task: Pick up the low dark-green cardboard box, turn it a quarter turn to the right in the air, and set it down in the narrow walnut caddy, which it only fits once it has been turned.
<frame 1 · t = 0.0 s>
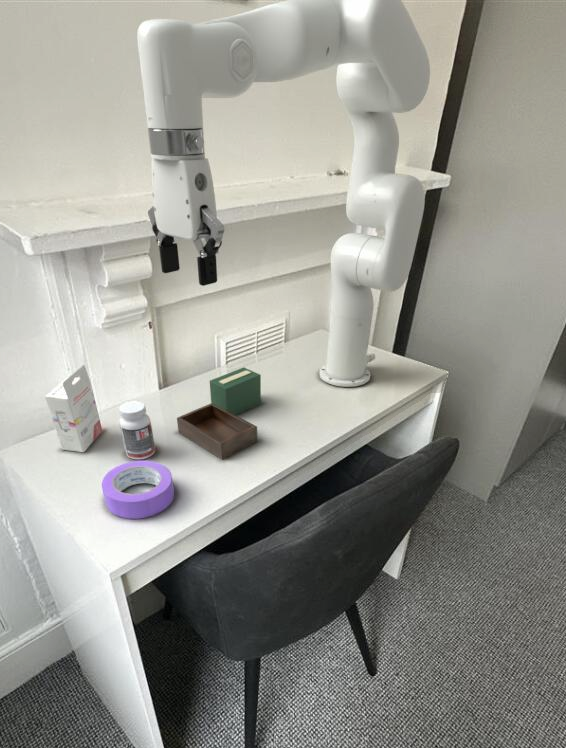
hand: (189, 277, 79), 31 cm above the table, tool pointing down, fingers open, 9 cm apart
green box: (236, 406, 111), on the table
caddy: (217, 437, 101), on the table
pill bottle: (141, 453, 97), on the table
ink cartridge box: (82, 441, 100), on the table
tape roll: (140, 498, 86), on the table
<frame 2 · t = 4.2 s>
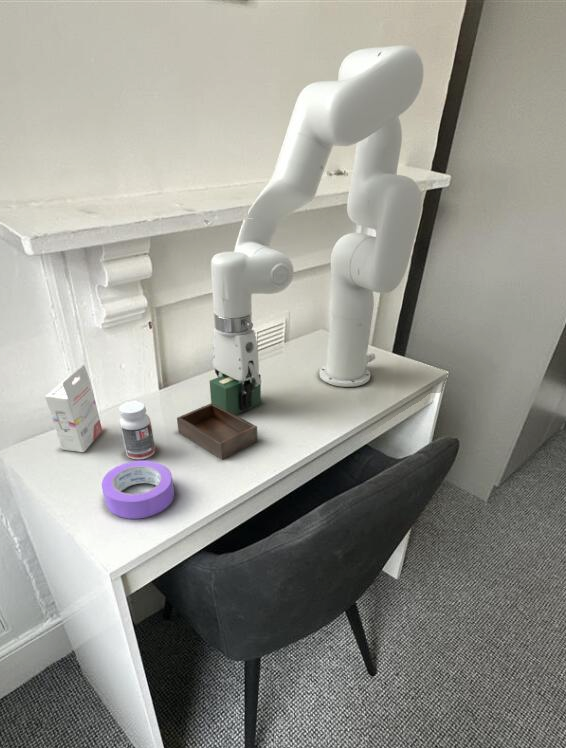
hand: (236, 402, 111), 1 cm above the table, tool pointing down, fingers closed on green box, 5 cm apart
green box: (236, 406, 111), on the table, touching gripper
everything else where it was.
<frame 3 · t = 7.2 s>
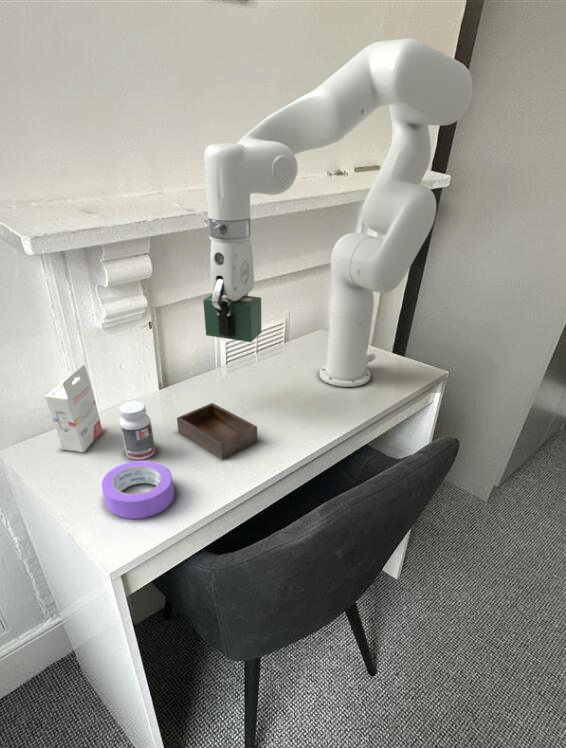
hand: (233, 329, 100), 17 cm above the table, tool pointing down, fingers closed on green box, 5 cm apart
green box: (233, 334, 101), point 16 cm above the table, touching gripper
everything else where it was.
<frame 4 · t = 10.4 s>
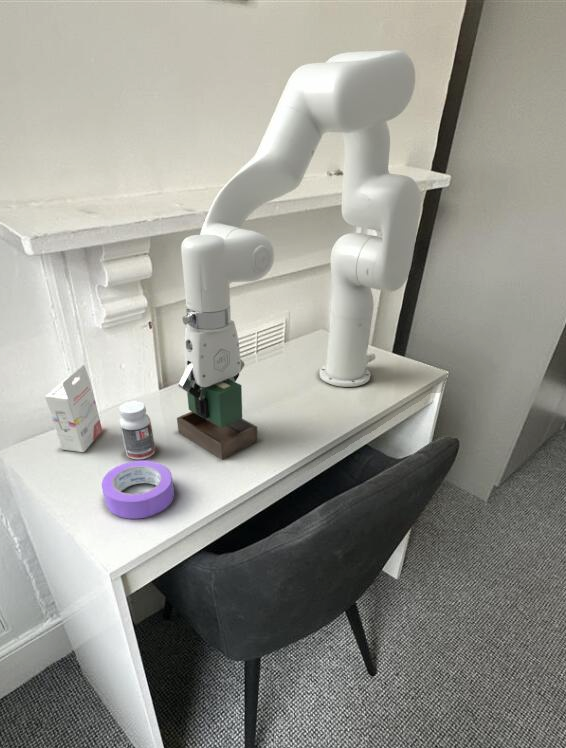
hand: (215, 409, 97), 6 cm above the table, tool pointing down, fingers closed on green box, 5 cm apart
green box: (215, 414, 98), point 5 cm above the table, touching gripper
everything else where it was.
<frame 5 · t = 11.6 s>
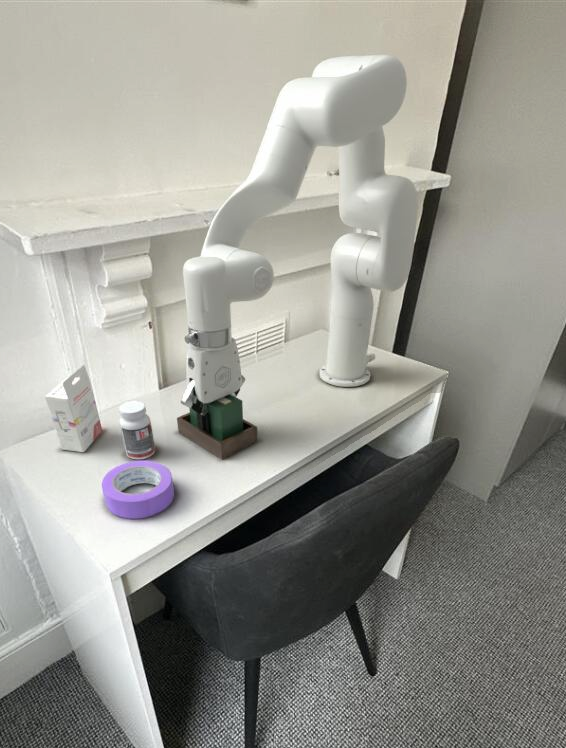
hand: (216, 423, 99), 3 cm above the table, tool pointing down, fingers closed on green box, 5 cm apart
green box: (216, 428, 100), point 2 cm above the table, touching gripper
everything else where it was.
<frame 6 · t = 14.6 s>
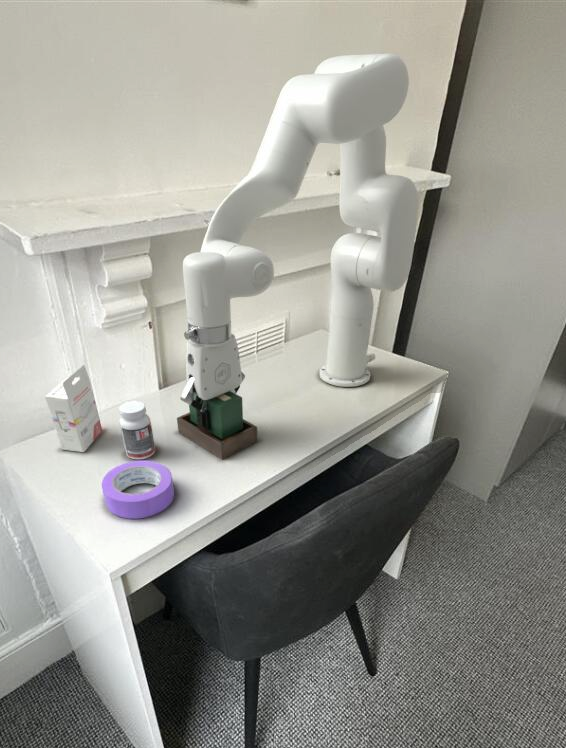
hand: (216, 420, 99), 4 cm above the table, tool pointing down, fingers closed on green box, 5 cm apart
green box: (216, 425, 100), point 3 cm above the table, touching gripper
everything else where it was.
when the fingers open (4 cm above the table, at t = 17.1 s): green box drops 2 cm, resting on caddy.
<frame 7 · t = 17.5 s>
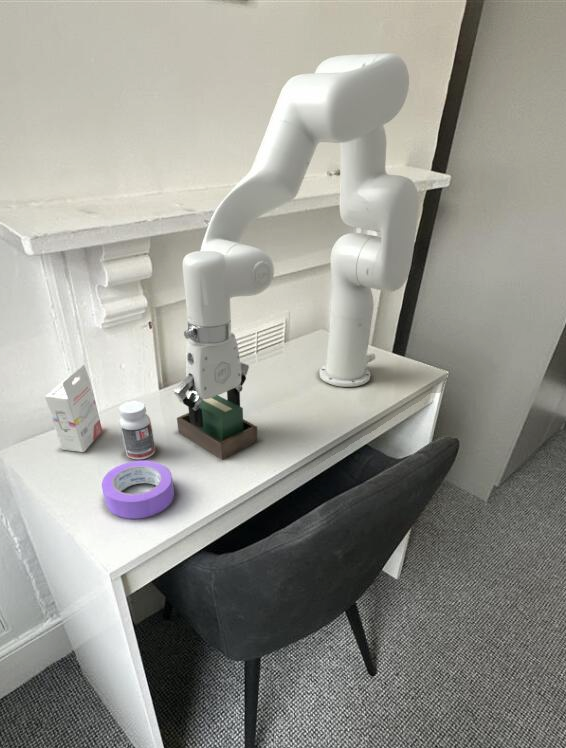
hand: (216, 416, 98), 5 cm above the table, tool pointing down, fingers open, 9 cm apart
green box: (217, 434, 101), resting on caddy
everything else where it was.
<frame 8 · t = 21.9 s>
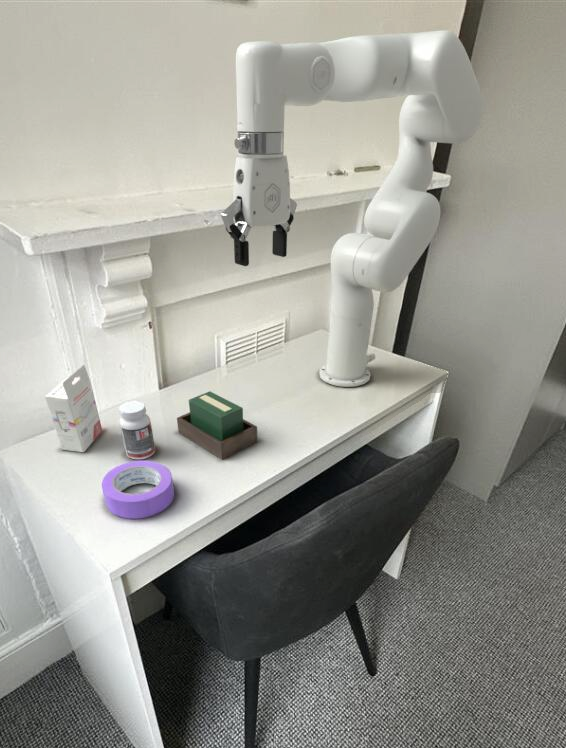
hand: (261, 260, 92), 30 cm above the table, tool pointing down, fingers open, 9 cm apart
nothing on the table moved.
at the end: green box 0.1 cm off-centre in the caddy, point 0.5 cm above the caddy's base; green box tilted 0°; the gripper is holding nothing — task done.
